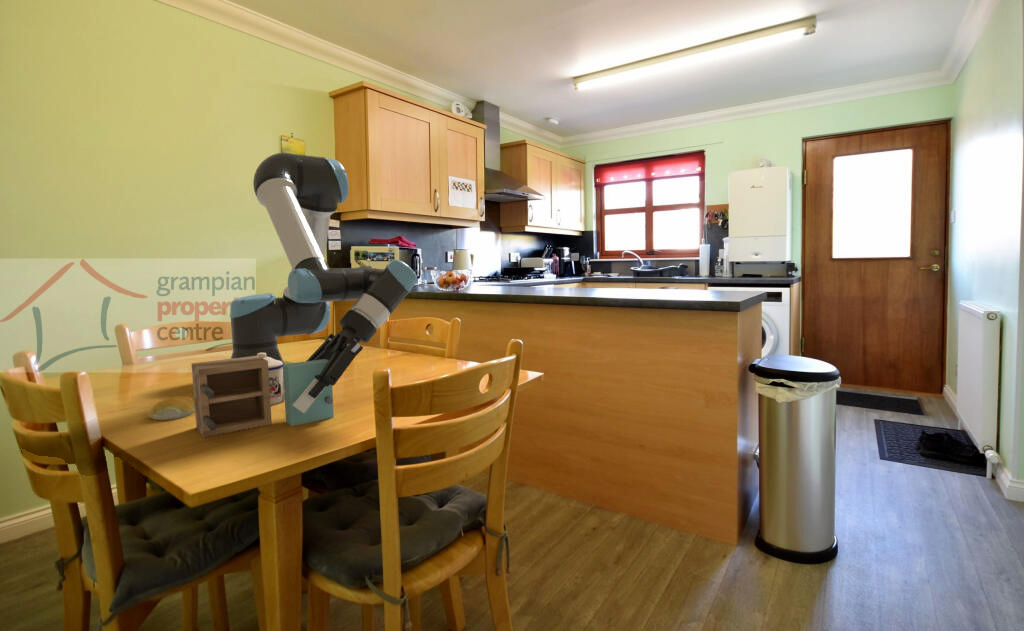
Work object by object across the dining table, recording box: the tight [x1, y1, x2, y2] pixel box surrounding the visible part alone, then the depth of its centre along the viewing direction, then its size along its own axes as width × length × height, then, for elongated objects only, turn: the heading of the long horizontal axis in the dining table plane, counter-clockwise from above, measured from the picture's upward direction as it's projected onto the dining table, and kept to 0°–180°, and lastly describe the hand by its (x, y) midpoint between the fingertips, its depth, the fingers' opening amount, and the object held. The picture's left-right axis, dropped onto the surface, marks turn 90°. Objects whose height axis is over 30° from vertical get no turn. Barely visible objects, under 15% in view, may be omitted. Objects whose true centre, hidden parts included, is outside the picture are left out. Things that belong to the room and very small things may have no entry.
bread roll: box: [148, 395, 195, 421], centre depth 112 cm, size 8×9×4 cm
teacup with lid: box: [257, 353, 284, 406], centre depth 122 cm, size 12×9×12 cm
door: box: [283, 359, 335, 427], centre depth 107 cm, size 4×9×12 cm, turn 130°
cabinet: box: [191, 356, 273, 438], centre depth 101 cm, size 14×12×13 cm
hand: (291, 404), depth 105 cm, fingers open, 7 cm apart
